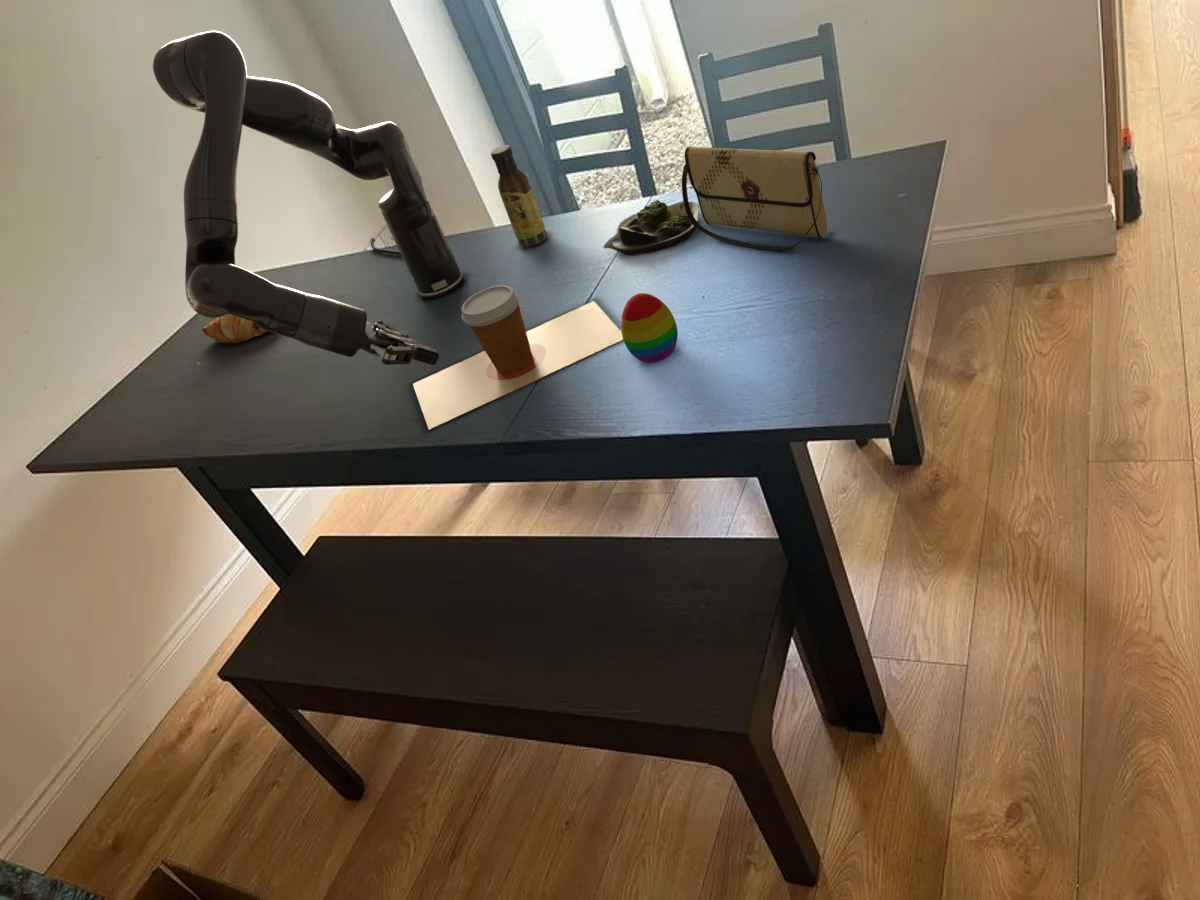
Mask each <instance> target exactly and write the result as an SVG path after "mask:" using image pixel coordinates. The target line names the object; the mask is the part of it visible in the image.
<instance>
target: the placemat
mask: <svg viewBox="0 0 1200 900" xmlns="http://www.w3.org/2000/svg"><path fill="white" fill-rule="evenodd" d="M526 334H527V337H528V341H529V345H530V349H531V352H532V356H533V358H532V360H531V362H530V363H529V364H528V365H527V366H525V367H524V368H522V369H520V370H518V371H516V372H513V373H508V374H503V373H499V372H498V371H497V370H496V368H495V366H494V365H493V363H492V361H491V360H490V358H489V357H488V355H487V353H486V352H485V350H483V351H481V352H479V353H476V354H475V355H473V356H470V357H468V358H466V359H464V360H462V361H460V362H457V363H455V364H453V365H451V366H449V367H448V366H447V367H446V368H444V369H442V370H439V371H438V372H435V373H434V374H431V375H429V376H426V377H425V378H422V379H420V380H418V381H415V382H414V383H412V387H413V389H414V391H415V394H416V397H417V400H418V403H419V406H420V409H421V412H422V415H423V417H424V420H425V423H426V426H427V429H428V431H431V430H432V429H435V428H437V427H439V426H441V425H444V424H446V423H448V422H450V421H452V420H454V419H457V418H458V417H461V416H463V415H465V414H467V413H470V412H471V411H473V410H476V409H478V408H480V407H482V406H485V405H486V404H489V403H491V402H493V401H495V400H498V399H499V398H502V397H503V396H504V397H505V396H506V395H508V394H510V393H512V392H514V391H516V390H519V389H521V388H523V387H525V386H527V385H530V384H532V383H535V382H537V381H538V380H540V379H542V378H544V377H547V376H548V375H551V374H554V373H555V372H557V371H560V370H562V369H565V368H566V367H569V366H570V365H571V366H572V364H575V363H577V362H580V361H581V360H584V359H586V358H588V357H590V356H592V355H594V354H596V353H598V352H600V351H603V350H605V349H607V348H609V347H611V346H613V345H616V344H618V343H620V342H622V341H624V340H623V337H622V332H621V329H620V328H619V327H618V326H617V325H616V324H615V323H614V322H613V320H612V319H611V318H610V317H609V316H608V315H607V314H606V313H605V312H604V310H603V309H602V308H601V307H600V306H599V305H598V304H597V302H596V301H594V300H593V301H590V302H588V303H586V304H584V305H582V306H579V307H577V308H575V309H572V310H571V311H568V312H566V313H564V314H562V315H560V316H558V317H555V318H553V319H550V320H549V321H547V322H544V323H543V324H540V325H539V326H536V327H533V328H531V329H530V330H526Z"/></svg>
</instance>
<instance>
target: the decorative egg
mask: <svg viewBox="0 0 1200 900" xmlns="http://www.w3.org/2000/svg"><path fill="white" fill-rule="evenodd" d="M620 331H621V332H622V337H623V340H622V341H623V344H624V345H625V347H626V349H627V350H628V352H629V353H630V354H631V355H632V356H633V357H634V358H635V359H637V360H639V362H643V363H648V364H649V363H650V364H651V363H656V362H659V361H662V360H665V359H666V358H668V357H669V356H671V355H672V354H673V352H674V350H675V348H676V346H677V343H678V338H679V337H678V335H679V334H678V331H679V330H678V325H677V322H676V319H675V317H674V315H673V313H672V311H671V309H670V308H669V307H668V306H667V305H666V303H664V302H663V301H662V300H661V299H660V298H658V297H657V296H655V295H652V294H650V293H646V292H639V293H636V294H634V295H633V296H631V297H630V298H629V299H628V300H627V301H626V303H625V305H624V307H623V310H622V314H621V319H620Z"/></svg>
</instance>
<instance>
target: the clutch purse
mask: <svg viewBox="0 0 1200 900" xmlns="http://www.w3.org/2000/svg"><path fill="white" fill-rule="evenodd" d="M816 159H817V156H816V153H815V152H813V151H799V150H798V151H797V150H775V149H774V150H773V149H749V148H725V147H706V146H705V147H704V146H703V147H701V146H687V147H686V148H685V150H684V162H685V163H684V166H683V169H682V175H681V194H682V195H681V196H682V200H683V201H682V202H684V206H685V210H686V213H687V215H688V217H689V219H690V221H691V223H692V224H693V225H694V226H695V227H696V230H698V231H700V232H701V233H703V234H705V235H706V236H708V237H711V238H713V239H715V240H719V241H721V242H726V243H729V244H734V245H737V246H742V247H745V248H751V249H758V250H766V251H767V250H768V251H789V250H793V249H794V248H796V247H797V246H798V245H799V244H800V243H801V242H803V240H804V239H805V238H806V237H811V238H819V239H821V240H822V239H825V238H826V236H827V233H828V222H827V221H828V220H827V215H826V209H825V205H824V199H823V183H822V179H821V175H820V173H819V167H817V164H816ZM688 178H689V183H690V185H691V187H692V189H693V190H694V192H695V195H696V197H697V198H696V199H697V203H698V205H699V210H700V212H701V216H702V219H703V220H704V222H705V224H706V225H708V226H711V225H713V226H721V227H730V228H738V229H744V230H745V229H746V230H755V231H762V232H763V231H764V232H771V233H779V234H787V235H794V236H795V235H796V236H802V237H801V238H800V240H799V241H798V242H796V243H795V244H792V245H788V246H787V245H785V246H776V245H766V244H765V245H764V244H757V243H751V242H746V241H742V240H739V239H734V238H730V237H726V236H724V235H720V234H718V233H715V232H713V231H711V230H709V229H707V228H705V227H704V226H703V225H701V224H700V222H699V223H698V222H697V221H696V220H695V218H694V216H693V214H692V212H691V209H690V206H689V195H688Z"/></svg>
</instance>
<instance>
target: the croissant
mask: <svg viewBox="0 0 1200 900" xmlns="http://www.w3.org/2000/svg"><path fill="white" fill-rule="evenodd" d="M201 330H202V333H203V334H204V335H205V336H206V337H209V338H211V340H213V341H215V342H217V343H223V344H234V343H243V342H245V341H248V340H251V339H254V338H255V337H259V336H262V335H263V334H266V333H267V332H268V331H266V330H264V329H262V328H260V327H258V326H257V325H256V324H255V322H253V321H250V320H247V319H244V318H240V317H237V316H234V315H231V314H226V315H224V316H222V317H218V318H214V320H213V321H211V322H209V323H208V325H206V326H203V328H202V329H201Z"/></svg>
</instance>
